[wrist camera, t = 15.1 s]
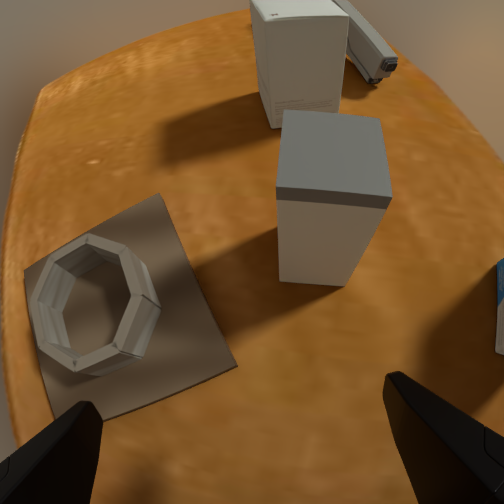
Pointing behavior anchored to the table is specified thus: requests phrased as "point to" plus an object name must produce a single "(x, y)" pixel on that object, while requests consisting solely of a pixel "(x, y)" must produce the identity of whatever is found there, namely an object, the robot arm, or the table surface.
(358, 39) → the gun
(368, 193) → the link block
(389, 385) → the robot arm
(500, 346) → the ink box
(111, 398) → the ring stand
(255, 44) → the supplement box
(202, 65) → the table surface
